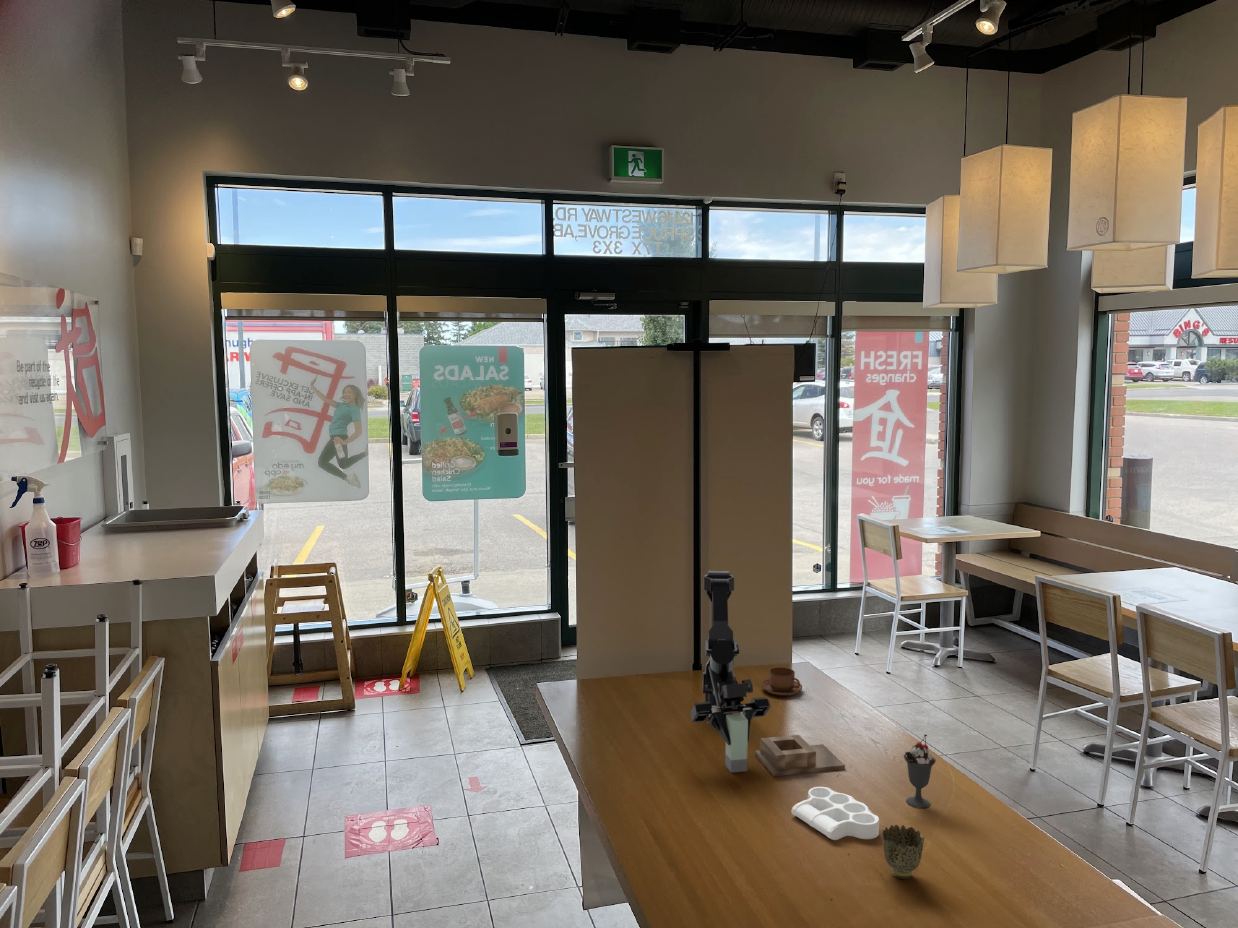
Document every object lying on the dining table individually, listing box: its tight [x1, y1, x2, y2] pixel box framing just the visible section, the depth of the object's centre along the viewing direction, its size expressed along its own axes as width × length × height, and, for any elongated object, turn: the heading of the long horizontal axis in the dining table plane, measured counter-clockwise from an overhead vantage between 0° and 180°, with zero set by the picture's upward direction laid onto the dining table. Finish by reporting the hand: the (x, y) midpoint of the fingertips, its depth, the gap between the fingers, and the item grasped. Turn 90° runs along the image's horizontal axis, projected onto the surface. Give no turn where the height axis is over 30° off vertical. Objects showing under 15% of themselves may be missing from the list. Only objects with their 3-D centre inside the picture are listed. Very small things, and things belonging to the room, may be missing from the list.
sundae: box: [903, 734, 937, 809], centre depth 188 cm, size 7×7×15 cm
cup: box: [881, 824, 925, 880], centre depth 161 cm, size 8×7×8 cm
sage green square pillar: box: [724, 713, 749, 773], centre depth 205 cm, size 4×4×12 cm
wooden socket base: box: [754, 734, 846, 777], centre depth 209 cm, size 18×12×4 cm, turn 102°
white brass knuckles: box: [791, 786, 880, 841], centre depth 181 cm, size 3×18×15 cm
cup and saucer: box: [760, 667, 803, 697], centre depth 256 cm, size 12×12×6 cm
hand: (738, 743), depth 203 cm, fingers closed on sage green square pillar, 4 cm apart
